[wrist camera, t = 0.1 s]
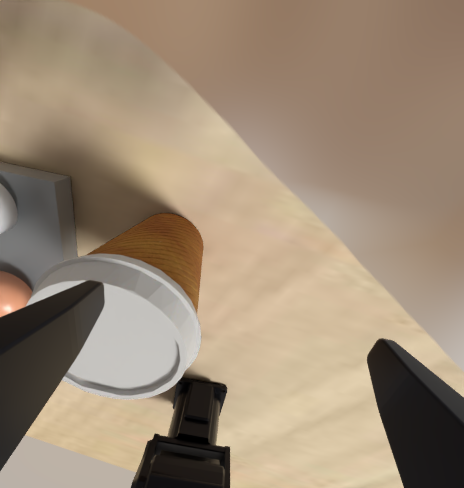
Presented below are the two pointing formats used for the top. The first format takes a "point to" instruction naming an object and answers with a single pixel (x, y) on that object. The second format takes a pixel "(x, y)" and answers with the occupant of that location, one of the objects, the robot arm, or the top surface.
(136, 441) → the top surface
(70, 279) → the disposable coffee cup
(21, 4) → the top surface
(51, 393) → the robot arm
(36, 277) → the panel
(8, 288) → the button terracotta
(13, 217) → the button bluegrey
